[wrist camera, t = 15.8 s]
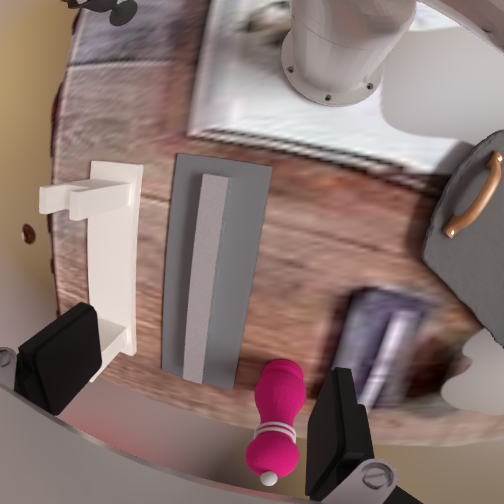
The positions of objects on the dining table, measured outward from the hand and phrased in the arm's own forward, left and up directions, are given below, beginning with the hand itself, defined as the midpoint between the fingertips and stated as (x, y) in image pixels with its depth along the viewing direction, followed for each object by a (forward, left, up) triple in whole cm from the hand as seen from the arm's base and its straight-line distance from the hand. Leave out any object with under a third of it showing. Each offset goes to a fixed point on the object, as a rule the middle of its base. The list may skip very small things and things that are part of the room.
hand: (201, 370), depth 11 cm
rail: (+10, -7, -28) cm, 30 cm away
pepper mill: (+22, +6, -28) cm, 36 cm away
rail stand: (+10, -22, -28) cm, 37 cm away
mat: (+10, -7, -28) cm, 31 cm away
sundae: (-29, -27, -28) cm, 49 cm away
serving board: (-3, +39, -29) cm, 48 cm away
